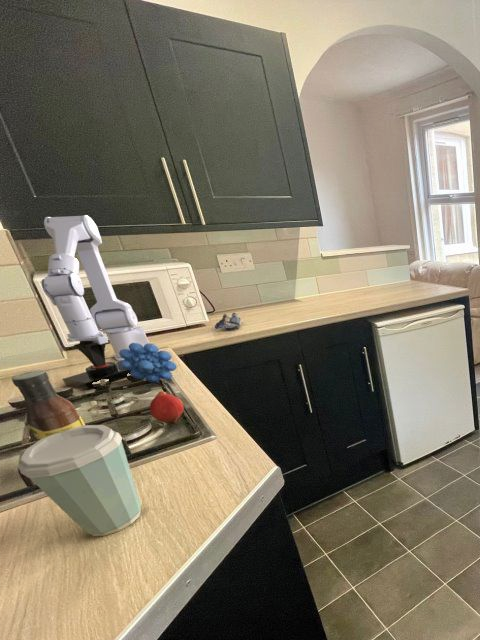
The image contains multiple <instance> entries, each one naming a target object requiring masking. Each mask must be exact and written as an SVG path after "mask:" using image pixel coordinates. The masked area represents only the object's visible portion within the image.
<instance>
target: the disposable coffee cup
mask: <svg viewBox="0 0 480 640" xmlns="http://www.w3.org/2000/svg"><path fill="white" fill-rule="evenodd" d="M122 440H123V437H122V436H121V434H120V433H119V432H118V431H114V430H113V429H112V428H110V427H108V426H106V425H104V424H85V425H84V426H80V427H76V428H72V429H68V430H65V431H62V432H59V433H56V434H53V435H51V436H48V437H46V438H43V439H41V440H39V441H38V440H37V442H35V443H34V444H31V445H30V446H29V447H27V448H26V449H25V450H24V452H22V453H23V454H22V455H21V457H20V459H19V461H20V463H19V464H18V466H17V468H18V469H19V472H20V474H21V475H23V476H24V477H26V478H28V479H30V480H31V481H32V482H33V483H34V484H35V485H36V486H37V487H38V488H39V489H40V490H41V491H42V492H43V493H45V494H46V495H47V497H49V498H50V500H51V501H52V502H54V503H55V504H56V505H57V506H58V507H59V508H60V509H61V510H62V511H63V512H64V513H65V514H66V515H67V516H68V517H69V518H70V519H71V520H72V521H73V522H74V524H76V525H77V526H78V527H79V528H81V530H83V532H85V533H86V534H88V535H91V536H92V537H94V538H95V537H96V538H97V537H105V536H108V535H109V536H110V535H112V534H115V533H117V532H120V531H122V530H123V529H125V528H127V527H128V526H130V525H132V524H133V523H134V522H135V521H136V520H137V519H138V518H140V516H141V512H142V503H141V500H140V497H139V494H138V490H137V487H136V484H135V480H134V477H133V474H132V471H131V467H130V464H129V461H128V457H127V454H126V451H125V448H124V444H123V442H122Z"/></svg>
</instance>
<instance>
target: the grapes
mask: <svg viewBox="0 0 480 640" xmlns="http://www.w3.org/2000/svg"><path fill="white" fill-rule="evenodd" d="M129 349H130V350H129ZM129 349H122V350H120V352H119V354H120V356H121V357H122V358H123V359H124V360H121V361H119V362H120V365H121V367H122V368H124V369H126V370H131V372H130V373H131V375H132V376H131V377H132V378H134V379H136V380H143V379H146V381H148V382H149V383H153V384H154V383H159V382H160V380H161V379H162V380H170V379H172V378H173V373H172V372H174V371H176V370H177V367H178V366H177V364H176V363H175V362H173V361H172V354H171V352H169V351H166V350H159V346H157V344H154V343H150V344H146V345H144V347H143V346H142V345H141V344H139V343H131V344H130V345H129Z"/></svg>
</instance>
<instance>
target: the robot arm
mask: <svg viewBox="0 0 480 640" xmlns="http://www.w3.org/2000/svg"><path fill="white" fill-rule="evenodd" d="M43 225H44V228H45V230H46V233H48V235H49V236H50V237H51V238H52V239H53V245H54V246H53V247H54V253H53V254H51V255H50V256H49V257H48V267H47V276H45V277H44V278H42V279H41V283H40V284H41V288H42V291H43V293H44V294H45V296H47V297H48V299H49V300H50V301H51V304H52V305H53V306H55V307H56V308H57V310H58V312H59V314H60V316H61V318H62V320H63V323H64V324H65V326H66V329H67V331H68V332H69V333H67V334H66V336H67V338H66V340H67V342H68V343H71V342H72V343H73V342H79V343H75V344H74V345H73V347H74V348H75V349H76V350H78V351H80V352H81V353H82V354H83V355H84V356H85V357H86V358H87V360H88V361H89V362H90V363H91V364H92V365H94V366H95V367H99V366H102V365H106V362H107V361H106V354H105V353H106V352H105V350H106V345H107V343H109V344H110V346H111V348H112V350H113V352H114V355H113V357H114V359H115V360H116V362H121V361H122V360H124V359H123V358H122V357H121V356H120V354H119V352H120V350H122V349H129V345H130V344H131V343H139V344H141V345H142V346H143V347H144V345H146V344H151V343H150V341H149V339H148V337H147V334H146V332H145V330H144V328H143V327H142V326H138V324H139V322H138V321H139V320H138V317H137V314H136V312H135V311H134V309H133V307H132V305H131V304H129V303H128V302H125V301H123V300H121V299H118V297H117V296H116V293H115V291H114V288H113V285H112V283H111V280H110V278H109V277H110V276H109V275H108V272H107V269H106V266H105V264H104V262H103V259H102V256H101V254H100V249H99V247H98V246H100V245H102V244H103V241H102V237H101V234H100V232H99V231H100V230H99V228H98V225H97V224H96V223H95V221H94V220H93V218H92V217H90V216H89V215H87V214H83V215H71V216H70V215H68V216H45V217H44V220H43ZM76 252H77V255H78V257H79V260H80V261H79V260H78V259H77V258H76V257H75V255H76ZM80 262H81V265H82V267H83V270H84V272H85V275H86V278H87V280H88V283H89V285H90V287H91V290H92V292H93V293H92V294H93V295H94V298H95V301H96V302H95V303H94V305H92V306H91V307H90V309H89V307H88V305H87V302H86V300H85V297H84V295H85V288H84V285H83V282H82V278H81V277H80ZM129 350H130V349H129Z"/></svg>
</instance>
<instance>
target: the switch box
mask: <svg viewBox="0 0 480 640" xmlns="http://www.w3.org/2000/svg"><path fill="white" fill-rule="evenodd" d="M120 362H121V361H116V362H115V361H106V363H108V364H109V365H108V366H106V367H102V368H97V369H93V368H92V367H93V366H94V365H93V364H92V365H90V366H88V367H86V368H85V372H81V373H78V374H75V375H71V376H68V377H65V378H62V381H63V383H64V385H65V386H66V387H68V388H69V387H70V388H75V389H80V390H86V391H91V390H94V389H97V388H98V387H93V385H92V383H93V382H97V381H99V380H101V379H109V382H110V383H109V384H112V383H114V382H117V381H120V380H124V379H127V378H128V377H127V374H128V373H129V374H131V373H130V372H131V370H126V369H124V368H122V367H121V365H120Z"/></svg>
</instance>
